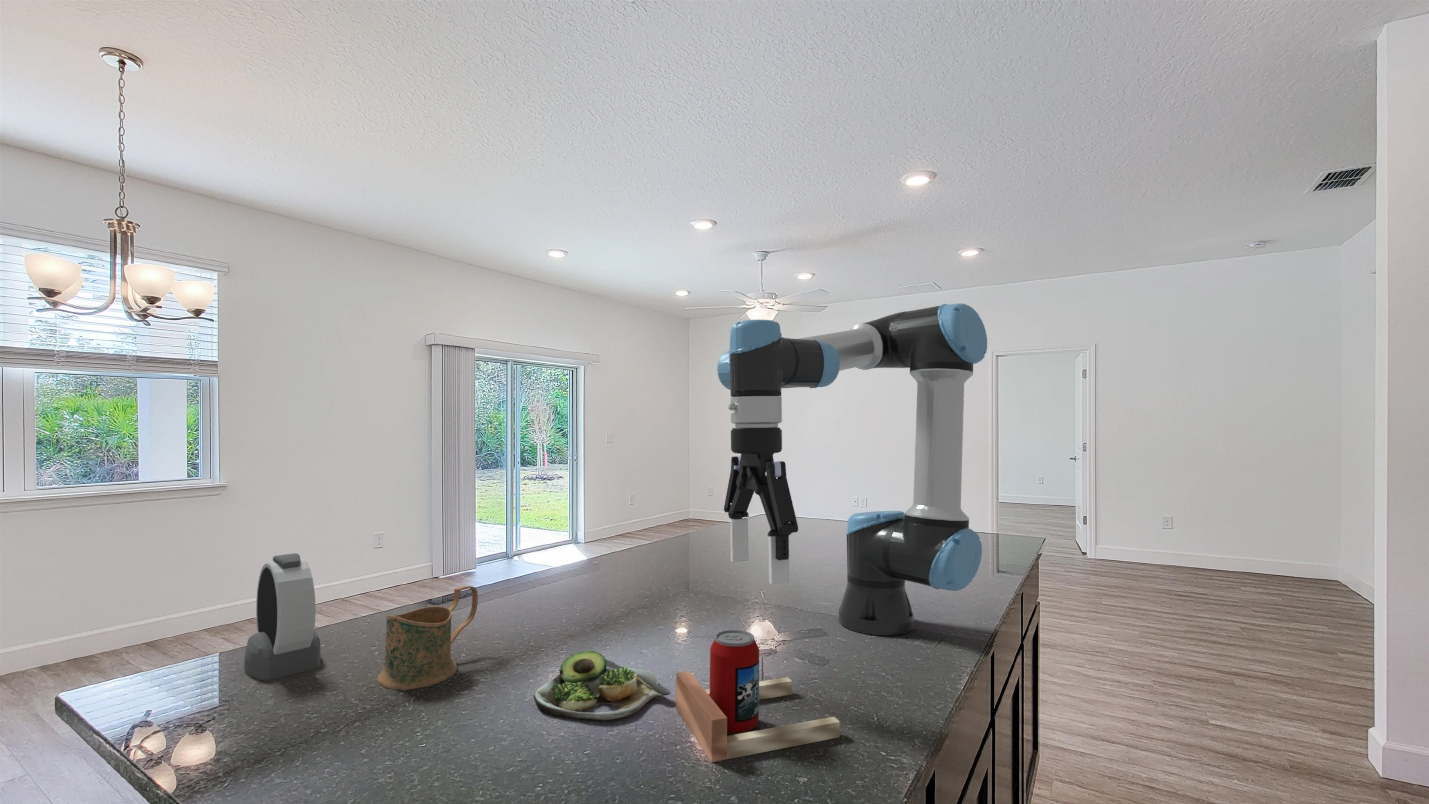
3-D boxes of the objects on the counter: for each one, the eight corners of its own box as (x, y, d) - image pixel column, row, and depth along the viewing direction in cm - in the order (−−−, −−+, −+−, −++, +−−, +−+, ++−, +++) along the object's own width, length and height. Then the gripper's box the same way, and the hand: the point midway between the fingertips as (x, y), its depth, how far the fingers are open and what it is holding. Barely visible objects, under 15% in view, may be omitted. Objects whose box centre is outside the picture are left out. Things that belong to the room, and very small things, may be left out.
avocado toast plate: (690, 683, 97) (690, 653, 98) (639, 736, 81) (639, 700, 81) (584, 666, 104) (585, 639, 104) (517, 712, 87) (518, 679, 87)
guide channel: (787, 690, 94) (787, 657, 95) (839, 737, 80) (839, 698, 80) (675, 707, 88) (676, 672, 88) (711, 762, 74) (711, 720, 74)
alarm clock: (235, 658, 105) (239, 552, 106) (305, 643, 112) (308, 543, 113) (256, 687, 94) (260, 567, 95) (332, 668, 101) (335, 557, 102)
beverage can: (755, 740, 79) (755, 647, 80) (704, 734, 81) (705, 642, 81) (761, 716, 86) (762, 630, 86) (714, 711, 87) (715, 626, 88)
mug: (498, 655, 108) (500, 586, 108) (411, 695, 92) (414, 614, 92) (451, 644, 112) (453, 579, 113) (361, 680, 97) (363, 604, 97)
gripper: (703, 425, 100) (704, 555, 100) (770, 427, 77) (773, 597, 76) (745, 424, 103) (746, 551, 102) (822, 426, 79) (825, 590, 79)
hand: (758, 571), depth 89 cm, fingers open, 13 cm apart
